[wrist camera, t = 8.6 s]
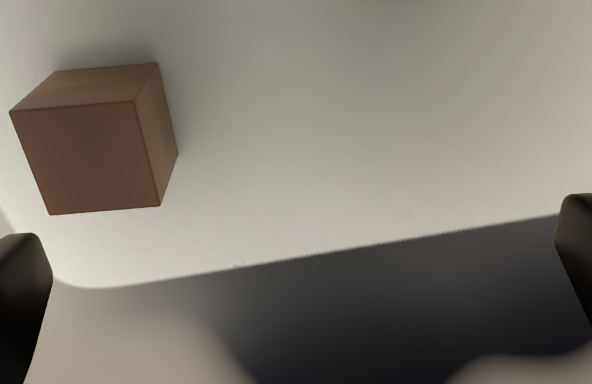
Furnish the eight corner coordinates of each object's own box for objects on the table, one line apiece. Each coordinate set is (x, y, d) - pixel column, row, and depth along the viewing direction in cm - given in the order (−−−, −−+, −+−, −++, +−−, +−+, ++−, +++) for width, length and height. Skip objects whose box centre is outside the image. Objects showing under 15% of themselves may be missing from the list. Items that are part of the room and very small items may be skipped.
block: (158, 61, 19) (133, 100, 16) (178, 155, 21) (161, 207, 18) (53, 71, 19) (6, 111, 16) (84, 163, 21) (48, 216, 18)
